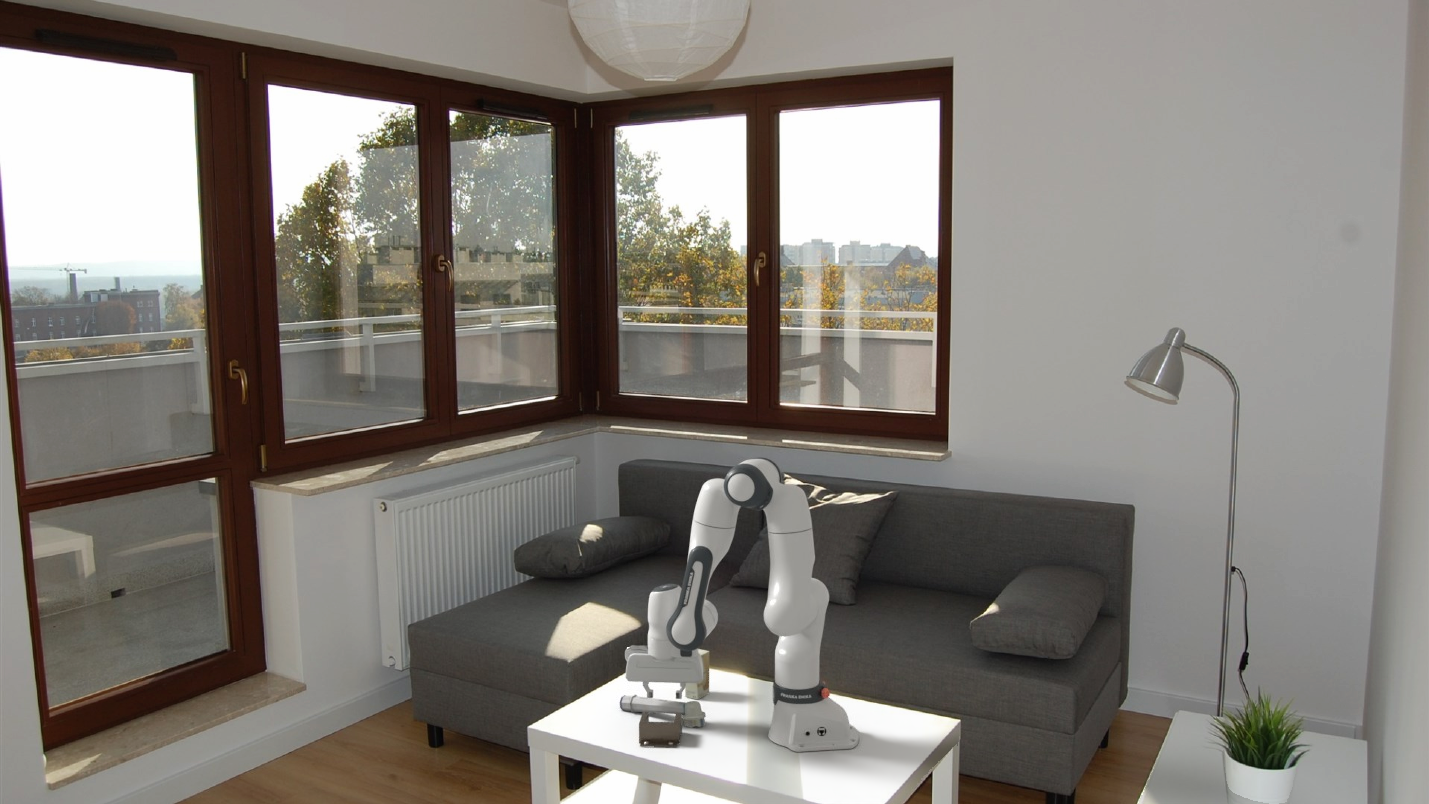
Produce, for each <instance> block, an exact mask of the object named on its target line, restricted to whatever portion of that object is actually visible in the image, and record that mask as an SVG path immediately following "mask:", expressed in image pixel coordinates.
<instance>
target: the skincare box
mask: <svg viewBox="0 0 1429 804" xmlns="http://www.w3.org/2000/svg"><path fill="white" fill-rule="evenodd" d="M698 653H699V654H700V655H701V658H702V663H703V680H702V682H701V683H699V684H697V683H686V687H685V689H684V690H685V692H684V693H685V694H684V697H686V698H689V699H692V700H693V699H694V700H700V699H702V698H703V697H705V696H707V695H709V694H710V651H709V650H706V649H700V648H699V650H698ZM708 693H709V694H708Z"/></svg>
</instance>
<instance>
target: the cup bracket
mask: <svg viewBox="0 0 1429 804" xmlns="http://www.w3.org/2000/svg"><path fill="white" fill-rule="evenodd" d="M641 713H642V714H641V717H640V719H639V723H638V744H639V747H640V746H654V747H653V748H675V749H676V747H678V745H680V744H679V743H681V738H682V735H681V734H682V733H683V718H682V713H676V714H674V715H675V716H674V720H673V721H672V722H671V721H650V720H649V719H650V717H649V716H650V712H641Z"/></svg>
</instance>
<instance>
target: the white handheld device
mask: <svg viewBox="0 0 1429 804" xmlns="http://www.w3.org/2000/svg"><path fill="white" fill-rule="evenodd" d="M619 709H621V710H622V711H625V712H626V711H627V712H632V713H633V714H635V713H637V712H639V713H643V712H649V713H654V714H668V715H669V714H672V715H676V713H682V720H683V721H684V726H685V725H686V726H687V728H694V727H698V728H701V727H703V726H705V725H706V722H705V720H706V719H705V718H706V716H707V715H706V712H705V711H703V710H702V706H701V702H700V701H698V700H689V701H687V702H684V701H676V700H668V699H661V698H654V697H653V698H647V696H638V695H637V694H634V695H623V696H621V697H620V700H619Z"/></svg>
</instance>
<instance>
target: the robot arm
mask: <svg viewBox="0 0 1429 804" xmlns="http://www.w3.org/2000/svg"><path fill="white" fill-rule="evenodd" d="M782 477H783V475H782V471H781V469H780V467H779V466H778V464H777V463H776V462H775V461H773V460H772V459H770V458H767V457H761V456H759V457H755V458H751V459H750V458H749V459H746V460H744V461H742V462H740V463H738V464H737V465H735V466H733V467H731V469H729V471H728V472H727V473H726V476H725V477H724V478H719V477H717V478H711V479H707V481H706V482H704V483H703V484H702V486H701V489H700V491H699V494H698V497H697V499H696V500H697V501H696V503H695V507H694V512H693V516H692V523H691V528H690V538H689V547H688V555H687V564H686V566H685V572H684V576H683V580H682V586H680V585H679V584H675V583H667V584H661V585H658V586H657V587H655V588H653V589H652V590H651V592H650V594H649V596H648V597H649V598H648V606H647V622H648V633H647V645H635V644H632V645H630V646H629V647H626V648H625V651H624V659H625V661H626V667H625V679H626V680H627V681H628V682H635V683H641V682H642V687H643V688H644V690H645V691H646V697H647V698H654V689H651V687H650V686H649V683H664V684H666V683H667V684H669V683H670V684H679V687H680V688H679V690H676V691H675V700H682V697H683V692H684V690H685V687H686V683H697V684H699V683H701V682H702V680H703V663H702V658H701V655H700V654H699V653H698V650H699V649H700V647H701V646H702V645H703V643H704V642H705V641H706V638H707V637H708V636H709V635H710V634H711V633H712V631H713V630H714V629H715V628H716V626H717V625H718V622H719V612H718V609H717V608H716V605H715V604H714V603H713V602H712V601H710V600H709V599H706V598H707V594H708V589H709V584H710V579H711V578H712V576H713V573H714V571H715V570H716V568H717V566H718V565H719V564H720V562H721V561H722V559H724V557H725V556H726V555H727V553H728V552H729V551H730V547H731V544H732V542H733V539H734V536H735V532H736V526H737V520H738V515H739V511H740V509H741V508H742V507H743V508H746V509H751V510H755V511H758V512H759V511H762V510H763V512H764V514H765V517H766V525H767V526H766V527H767V537H768V546H769V549H768V550H769V561H770V564H769V565H770V567H769V579H768V590H767V600H766V604H765V607H764V610H763V622H764V624H765V626H766V627H767V629H768V630H769V631H770V632H771V633H773V634H774V635H776V636H778V642H777V643H776V646H775V650H774V680H773V681H772V682H773V684H772V703H773V711H772V717H771V723H770V727H769V731H768V734H767V736H768V738H769V740H770V741H772V742H773V743H775V744H777V745H779V746H783V747H786V748H787V749H789V750H791V751H793V752H796V753H800V752H801V753H802V752H817V751H828V750H829V751H833V750H834V751H835V750H850V749H854V748H855V747H857V745H858V744H859V742H860V741H859V732H858V730H857V729H856V727H855V726H854V725H852V724H851V723H850V721H849V716H848V713H847V711H846V710H845V709H844V707H843V706H841V705H840V704H839V703H837V702H836V701H834V700H833V699H832V698H831V697H830V695H831V694H830V690H829V689H828V685H827V684H826V682H825V680H823V681H822V680H820V652H821V644H822V639H823V634H824V633H823V632H824V627H825V621H826V614H827V613H826V612H827V608H828V606H829V601H830V592H829V589H828V588H827V586H826V585H825V584H824V582H822V581H821V580H819V579H818V578H815V577H812V576H813V569H814V564H815V561H816V554H815V544H814V531H813V521H812V517H811V516H812V515H811V510H810V506H809V501H808V499H807V495H806V492H805V490H803V488H802V487H800V486H797V485H795V484H789V483H787V484H784V483H782V480H783V478H782Z"/></svg>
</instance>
